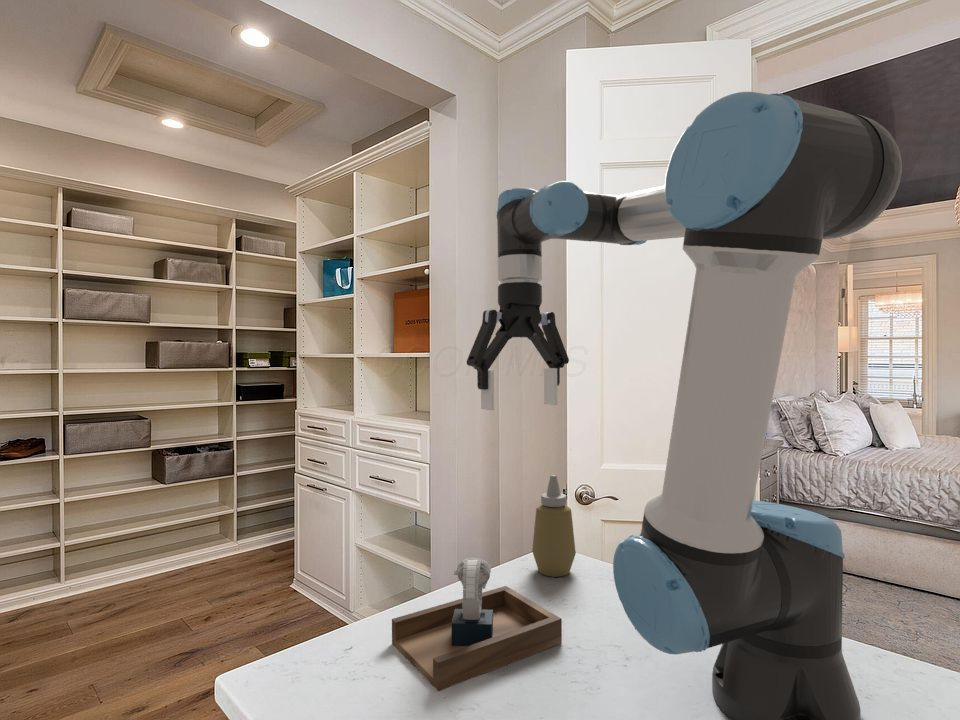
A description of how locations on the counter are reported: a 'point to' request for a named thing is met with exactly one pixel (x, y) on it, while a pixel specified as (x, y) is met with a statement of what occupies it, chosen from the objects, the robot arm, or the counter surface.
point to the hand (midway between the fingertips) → (520, 407)
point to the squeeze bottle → (553, 533)
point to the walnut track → (444, 665)
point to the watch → (472, 604)
